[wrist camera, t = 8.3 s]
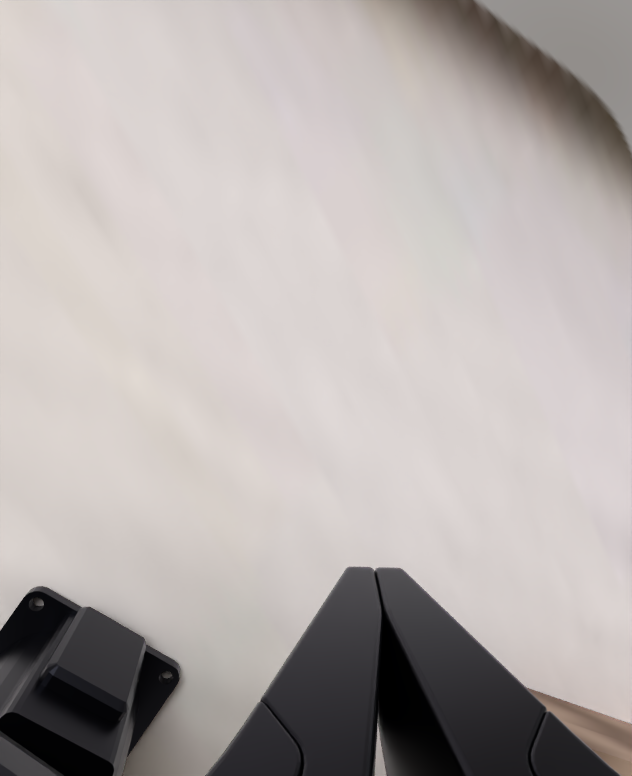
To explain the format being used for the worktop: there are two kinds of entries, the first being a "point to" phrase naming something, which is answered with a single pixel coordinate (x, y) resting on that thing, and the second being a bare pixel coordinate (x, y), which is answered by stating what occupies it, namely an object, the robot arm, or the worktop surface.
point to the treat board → (595, 731)
